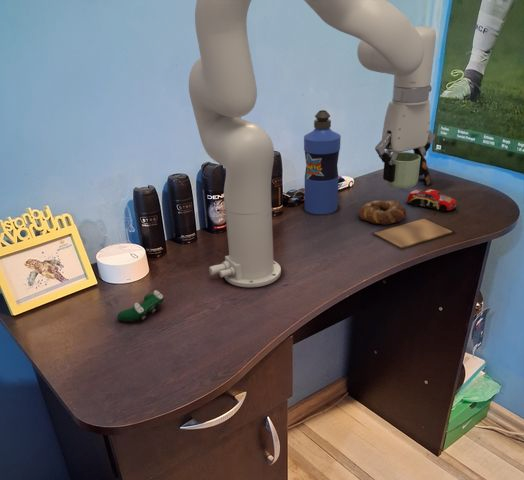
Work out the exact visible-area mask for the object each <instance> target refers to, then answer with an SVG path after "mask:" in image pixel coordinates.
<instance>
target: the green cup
mask: <svg viewBox="0 0 524 480" xmlns="http://www.w3.org/2000/svg"><path fill="white" fill-rule="evenodd" d="M391 155H392V153H391V154H390V156H389V157H391ZM420 160H421V156H420V155H418V154H415V153H414V152H410V151H409V152H408V151H403V152H399V153H398V155H397V157H396V159H395V161H394V163H393V164H395V165H396V167H395V178H394V182H389V181H386V180H385V182H386V185H387V186H389V187H392V188H397V189H409V188H413V187H415V186H417V184H418V183H419V177H420V175H419V169H420Z"/></svg>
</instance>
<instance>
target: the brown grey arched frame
mask: <svg viewBox="0 0 524 480" xmlns="http://www.w3.org/2000/svg"><path fill="white" fill-rule="evenodd" d="M420 176H424V177H423V179H424V181H425V185H426V186H428V185H430V183H431V175H430V170H429V167H428V165H427V159H426V158H425V157H423V165H422V174H421V175H420Z"/></svg>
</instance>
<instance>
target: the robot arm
mask: <svg viewBox="0 0 524 480" xmlns="http://www.w3.org/2000/svg"><path fill="white" fill-rule="evenodd" d="M303 1H304V2H305V3H306V4H307V6H309V8H311V9H312V11H313V12H314V13H315V14H316V15H317V16H318V17H319V18H320V19H321V20H322V22H324V23H325V24H326V25H328V26H330V27H332V28H333V29H335V30H337V31H338V32H341V33H344V34H346V35H349V36H352V37H354V38H356V39H358V40H360V41H359V43H358V46H357V59H358V61H359V63H360V64H361V66H362V67H363V68H364V69H366V70H368V71H372V72H376V73H380V74H387V75H392V76H393V86H392V87H393V88H392V97H391V98H392V99H391V101H390V102H388V105H387V107H386V112H385V116H384V122H383V127H382V135H381V140H380V141H379V142H378V144H376V146H375V147H374V150H375V152H376V153H377V155H378V157H379V159H380V160H381V162H382V163H383V173H382V174H383V175H382V179H383V180H384V181H385V182H386V181H389V182H394V178H395V167H396V165H395V164H393V163H394V161H395V159H396V157H397V155H398V153H399V152H408V151H413V153H415V154H418V155H420V156H421V160H420V169H419V176H421V174H422V165H423V157H424V158H425V157H426V156H427V152H428V151H429V149H430V148H431V145H432V144H433V142H434V140H435V139H436V135H435V134H434V133H433V132H432V130H431V129H430V128H431V99H429V97H430V92H431V91H432V89H433V87H432V85H431V82H432V73H433V64H434V56H435V48H436V40H437V33H436V30H435V29H434V28H433V27H430V26H414V25H413V24H412V22H411V21H410V20H409V19H408V18H407V16H406V15H405V14H404V13H403V12H402V10H401V11H400V9H398V7H396V6H395V5H394V4H392V3H391V2H389V1H388V0H303ZM195 2H196V3H195V9H194V27H195V32H196V39H197V43H198V50H199V55H200V56H199V57H200V58H198V59H197V60H196V61H195V62H194V63H193V65H192V66H191V69H190V72H189V76H188V94H189V98H190V102H191V103H190V104H191V107H192V110H193V114H194V118H195V122H196V126H197V130H198V133H199V138H200V141H201V144H202V146H203V148H204V151H205V153H206V154H207V155H208V157H209V158H210V159H212V160H213V161H214V162H216V163H217V164H219V165H221V166H222V167H224V168H225V179H224V186H223V201H224V202H223V204H224V214H225V225H226V235H227V246H228V255H225V256H224V261H222V262H221V263H220V264H215V265H210V266H209V267H208V272H209V275H210V276H215V275H218V274H219V277H220V278H224V279H225V281H226V282H228V283H229V284H231V285H232V286H235V287H241V288H259V287H260V288H261V287H264V286H268V285H270V284H272V283H274V282H276V281H278V279H279V278H280V277H281V275H282V267H281V264H279V263H278V262H276V261H275V260H274V236H273V235H274V234H273V232H274V231H273V208H272V207H273V206H272V177H273V176H272V175H273V168H274V162H275V148H274V144H273V141H272V139H271V136H270V135H269V134H268V132H267V131H266V130H265V129H263V128H262V127H261V126H259V125H258V124H256V123H253V122H251V121H249V120H246V119H244V118H243V117H245V116H247V115H248V114H249V113H251V111H253V109H254V108H255V105H256V103H257V100H258V99H257V97H258V89H257V81H256V77H255V71H254V66H253V61H252V54H251V49H250V44H249V38H248V29H247V27H248V25H247V21H248V19H247V18H248V11H249V8H250V5H251V3H252V0H196V1H195ZM390 154H392V155H391V157H389V156H390Z"/></svg>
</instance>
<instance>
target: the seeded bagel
mask: <svg viewBox="0 0 524 480" xmlns="http://www.w3.org/2000/svg"><path fill="white" fill-rule="evenodd" d="M406 213H407V211H406V208H405V207H404V206H403V205H400V202H398V201H396V200H393V199H392V200H391V199H390V200H389V199H388V200H386V201H385V200H381V199H375V200H372V201H369V202H367V203H364V204H363V205H361V207H360V208H359V210H358V216H359V218H360V219H361V220H363V221H366V222H367V221H368V223H371V224H374V225H375V224H380V225H384V226H386V225H391V224H396V223H399V222H401V221H402V220H403V219H404V218H405V217H406Z"/></svg>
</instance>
